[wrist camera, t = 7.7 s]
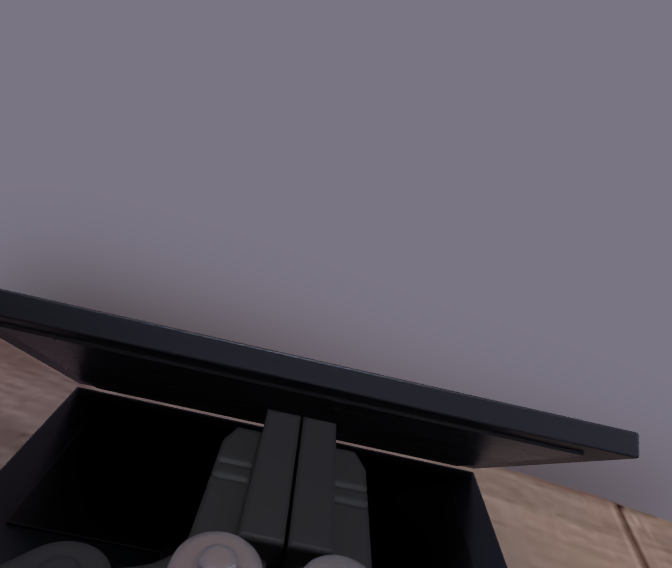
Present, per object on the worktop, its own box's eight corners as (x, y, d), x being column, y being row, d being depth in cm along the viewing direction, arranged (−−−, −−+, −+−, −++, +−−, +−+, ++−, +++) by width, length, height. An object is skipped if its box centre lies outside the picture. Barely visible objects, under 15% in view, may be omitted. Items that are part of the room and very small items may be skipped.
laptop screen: (640, 463, 12) (639, 432, 13) (-67, 306, 11) (-52, 276, 12) (473, 471, 22) (475, 453, 22) (77, 385, 21) (83, 368, 21)
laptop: (548, 806, 13) (578, 755, 12) (-145, 686, 12) (-149, 624, 11) (460, 506, 22) (474, 469, 22) (73, 424, 21) (77, 383, 21)
